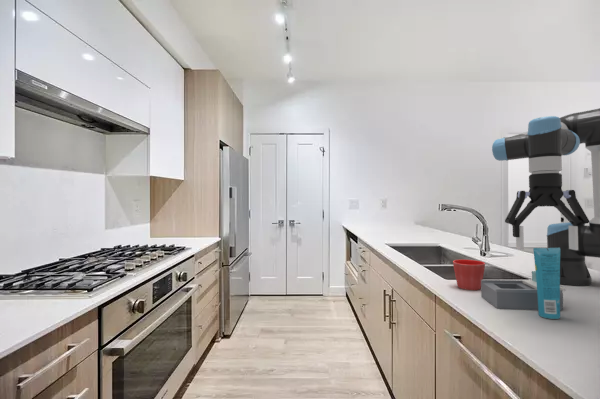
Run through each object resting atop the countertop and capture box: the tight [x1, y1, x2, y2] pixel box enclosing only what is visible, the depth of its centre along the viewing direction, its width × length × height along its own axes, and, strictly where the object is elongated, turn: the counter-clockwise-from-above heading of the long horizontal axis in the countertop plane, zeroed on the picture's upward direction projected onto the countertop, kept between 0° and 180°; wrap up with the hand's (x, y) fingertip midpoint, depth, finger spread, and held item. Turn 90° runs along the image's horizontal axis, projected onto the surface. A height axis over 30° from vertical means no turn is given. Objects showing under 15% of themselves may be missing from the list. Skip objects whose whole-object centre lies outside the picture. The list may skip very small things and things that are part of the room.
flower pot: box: [452, 259, 486, 291], centre depth 128 cm, size 11×11×10 cm
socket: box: [480, 279, 564, 311], centre depth 108 cm, size 18×13×6 cm
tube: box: [533, 247, 561, 320], centre depth 95 cm, size 7×5×19 cm, turn 96°
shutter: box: [521, 270, 567, 292], centre depth 107 cm, size 7×10×4 cm
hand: (546, 249), depth 95 cm, fingers open, 13 cm apart
